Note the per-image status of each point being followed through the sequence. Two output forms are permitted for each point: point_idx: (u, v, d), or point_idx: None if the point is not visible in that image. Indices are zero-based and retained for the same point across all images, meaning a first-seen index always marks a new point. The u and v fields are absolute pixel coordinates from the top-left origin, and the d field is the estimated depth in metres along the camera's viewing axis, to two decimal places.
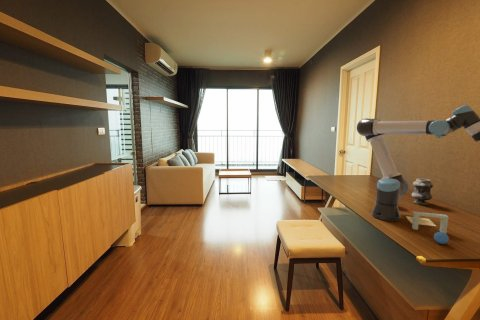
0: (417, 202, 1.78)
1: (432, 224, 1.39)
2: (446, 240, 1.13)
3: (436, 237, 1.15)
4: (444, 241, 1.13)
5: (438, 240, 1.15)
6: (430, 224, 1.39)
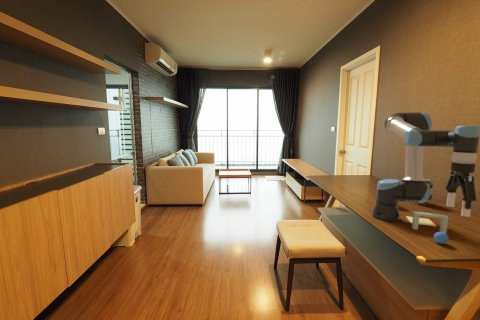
0: None
1: (432, 224, 1.39)
2: (446, 240, 1.13)
3: (436, 237, 1.15)
4: (444, 241, 1.13)
5: (438, 240, 1.15)
6: (430, 224, 1.39)
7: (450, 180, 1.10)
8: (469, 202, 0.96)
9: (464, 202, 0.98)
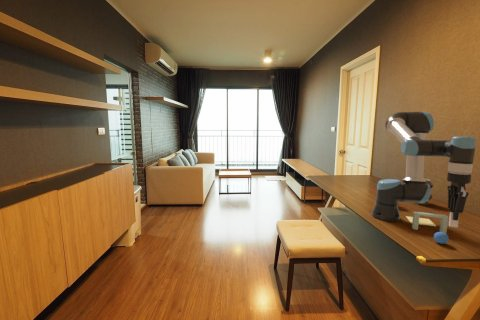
0: None
1: (432, 224, 1.39)
2: (446, 240, 1.13)
3: (436, 237, 1.15)
4: (444, 241, 1.13)
5: (438, 240, 1.15)
6: (430, 224, 1.39)
7: (449, 195, 1.08)
8: (456, 214, 1.03)
9: (452, 214, 1.04)
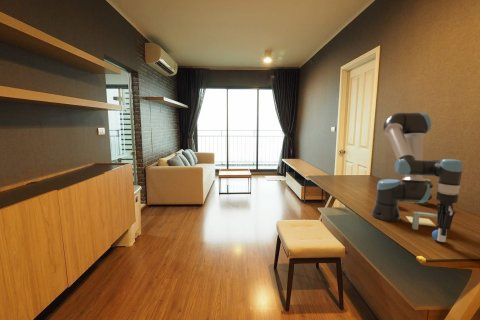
0: None
1: (432, 224, 1.39)
2: None
3: (434, 233, 1.18)
4: None
5: (436, 235, 1.17)
6: (430, 224, 1.39)
7: (438, 212, 1.17)
8: (444, 230, 1.13)
9: (440, 229, 1.14)
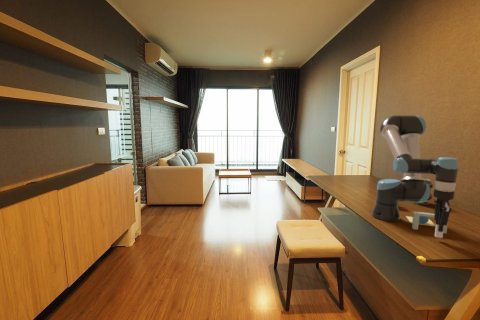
0: None
1: (432, 224, 1.39)
2: None
3: None
4: None
5: None
6: (430, 224, 1.39)
7: (435, 208, 1.21)
8: (441, 226, 1.16)
9: (437, 226, 1.18)
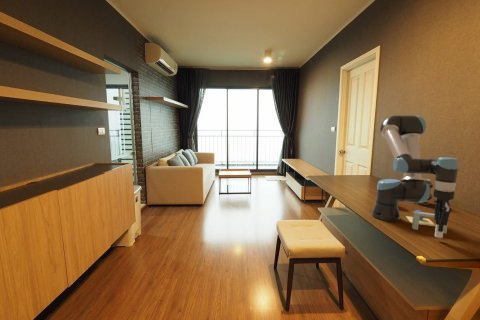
0: None
1: (432, 224, 1.39)
2: (422, 218, 1.45)
3: None
4: None
5: None
6: (430, 224, 1.39)
7: (435, 208, 1.21)
8: (441, 226, 1.16)
9: (437, 226, 1.18)
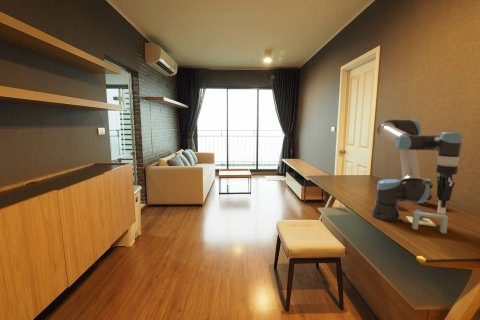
0: None
1: (432, 224, 1.39)
2: (422, 218, 1.45)
3: None
4: (420, 218, 1.45)
5: None
6: (430, 224, 1.39)
7: (438, 185, 1.19)
8: (444, 202, 1.15)
9: (440, 202, 1.16)
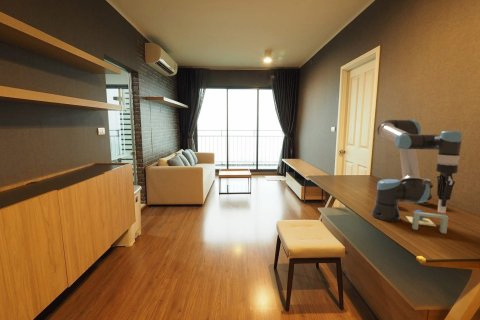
0: None
1: (432, 224, 1.39)
2: (422, 218, 1.45)
3: None
4: (420, 218, 1.45)
5: None
6: (430, 224, 1.39)
7: (438, 184, 1.19)
8: (444, 201, 1.14)
9: (440, 201, 1.16)
